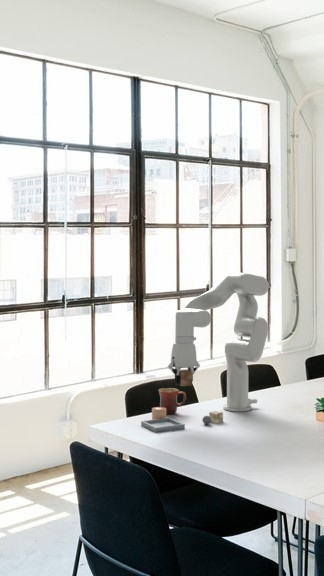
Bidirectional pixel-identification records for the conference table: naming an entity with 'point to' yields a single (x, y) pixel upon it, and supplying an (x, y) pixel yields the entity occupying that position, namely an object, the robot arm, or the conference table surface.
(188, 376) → the walnut block
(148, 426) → the tray
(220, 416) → the beech cube
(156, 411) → the beige short cylinder
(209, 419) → the grey ball
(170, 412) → the mug
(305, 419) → the conference table surface
